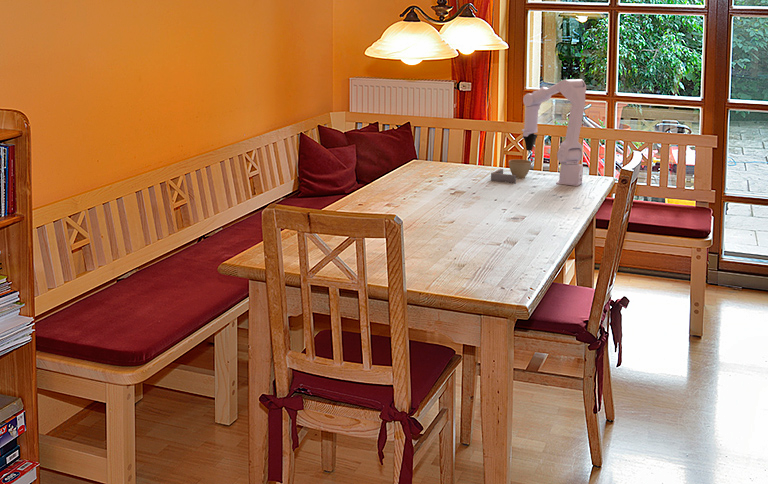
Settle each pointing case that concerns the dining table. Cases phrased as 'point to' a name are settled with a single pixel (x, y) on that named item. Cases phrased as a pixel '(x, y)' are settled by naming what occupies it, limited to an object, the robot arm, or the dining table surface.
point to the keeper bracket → (502, 177)
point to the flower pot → (519, 167)
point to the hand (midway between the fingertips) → (529, 150)
